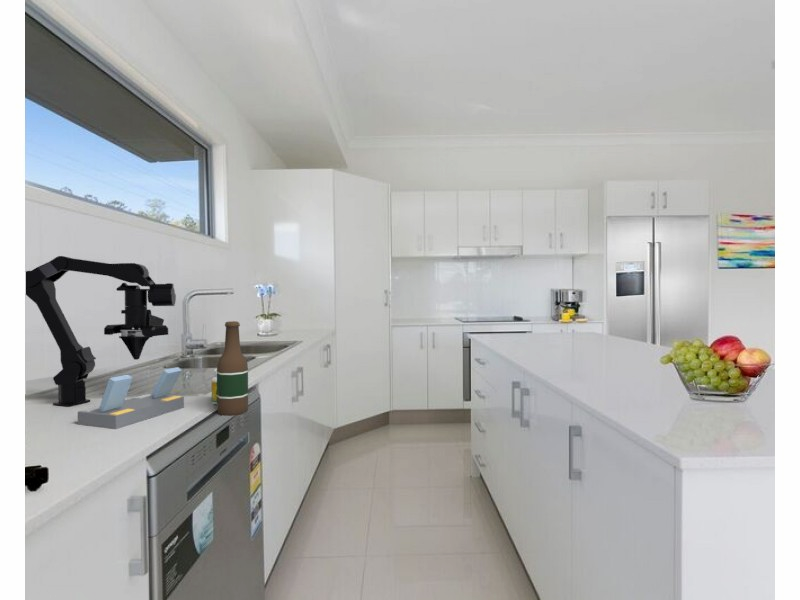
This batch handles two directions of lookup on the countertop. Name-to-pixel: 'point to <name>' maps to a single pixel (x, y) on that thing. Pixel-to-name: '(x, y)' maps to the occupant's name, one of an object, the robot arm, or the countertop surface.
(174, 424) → the countertop surface
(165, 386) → the panel
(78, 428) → the countertop surface
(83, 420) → the switch panel
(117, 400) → the upright blue panel
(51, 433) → the countertop surface
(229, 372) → the beer bottle
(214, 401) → the supplement bottle
